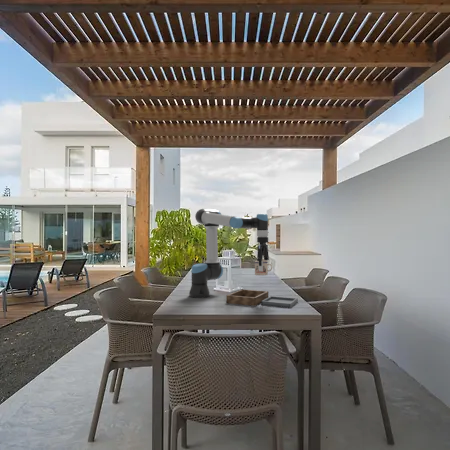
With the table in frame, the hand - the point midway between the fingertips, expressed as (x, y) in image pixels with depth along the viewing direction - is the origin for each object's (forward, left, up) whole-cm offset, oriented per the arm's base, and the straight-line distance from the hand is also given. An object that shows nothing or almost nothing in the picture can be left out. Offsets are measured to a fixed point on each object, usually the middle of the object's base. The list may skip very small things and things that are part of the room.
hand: (263, 270), depth 231 cm
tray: (+11, 0, -21) cm, 24 cm away
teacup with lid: (0, 0, -3) cm, 3 cm away
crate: (-11, 0, -21) cm, 24 cm away
